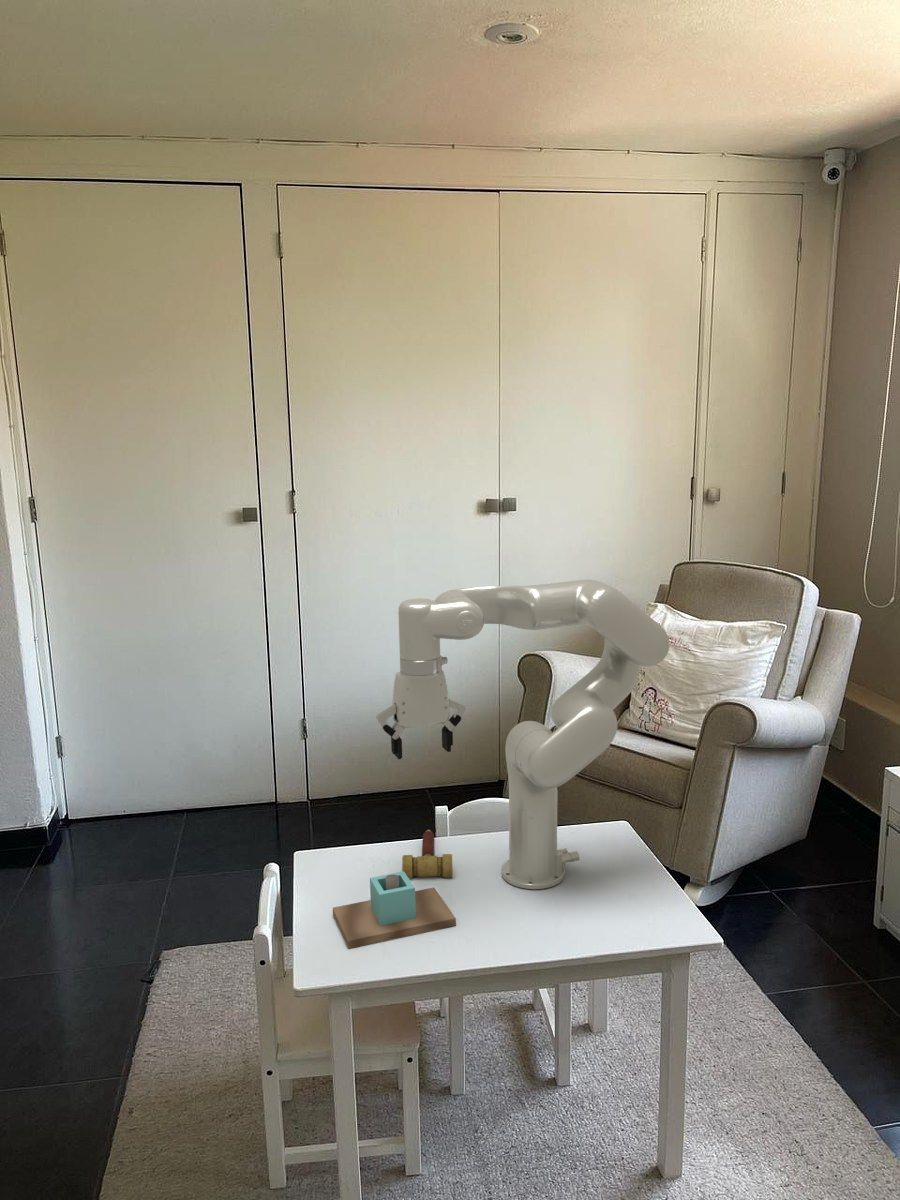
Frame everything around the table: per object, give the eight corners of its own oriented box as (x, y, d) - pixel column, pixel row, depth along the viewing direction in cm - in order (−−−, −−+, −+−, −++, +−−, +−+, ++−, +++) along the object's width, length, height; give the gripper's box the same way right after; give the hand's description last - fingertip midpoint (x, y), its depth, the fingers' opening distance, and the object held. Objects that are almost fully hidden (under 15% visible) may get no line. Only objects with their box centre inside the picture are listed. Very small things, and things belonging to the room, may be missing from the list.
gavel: (405, 821, 205) (451, 820, 205) (406, 841, 206) (451, 840, 206) (402, 860, 184) (452, 859, 184) (402, 882, 185) (452, 881, 185)
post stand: (434, 894, 179) (433, 853, 178) (455, 925, 168) (455, 882, 166) (332, 914, 173) (330, 872, 171) (348, 948, 162) (346, 904, 160)
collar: (404, 900, 174) (404, 871, 173) (415, 918, 168) (414, 887, 167) (371, 907, 172) (369, 877, 171) (380, 925, 166) (379, 894, 165)
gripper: (456, 656, 178) (458, 740, 181) (369, 665, 172) (373, 753, 176) (471, 665, 171) (472, 753, 175) (380, 676, 165) (384, 766, 169)
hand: (422, 753), depth 175 cm, fingers open, 9 cm apart
